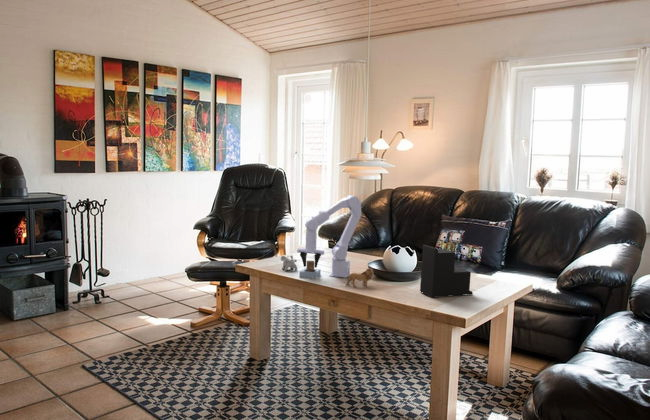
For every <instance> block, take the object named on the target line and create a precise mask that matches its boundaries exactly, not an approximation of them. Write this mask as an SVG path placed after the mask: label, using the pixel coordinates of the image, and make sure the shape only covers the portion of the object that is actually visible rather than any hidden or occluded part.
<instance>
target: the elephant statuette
mask: <svg viewBox="0 0 650 420" xmlns="http://www.w3.org/2000/svg"><path fill="white" fill-rule="evenodd" d="M280 261H282V262H283V264H282V266H281V270H283V271H284V272H287V271H288V269H291V270H293V269H294V270H295V271H297V270H298V266H297V264H296V263H297V262H298V261H297V259H296V258H294V257H293V255H292V254H291V255H286V256H285V255H282V256H281V257H280Z"/></svg>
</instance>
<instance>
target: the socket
mask: <svg viewBox="0 0 650 420" xmlns="http://www.w3.org/2000/svg"><path fill="white" fill-rule="evenodd" d="M320 276H321V269H320V268H317V269H316V268H314V272H309V271H307V267H304V268H302V269H301V270H300V271H299V278H307V279H317V278H318V277H320Z"/></svg>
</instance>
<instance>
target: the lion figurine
mask: <svg viewBox="0 0 650 420" xmlns="http://www.w3.org/2000/svg"><path fill="white" fill-rule="evenodd" d="M374 272H375V271H374V269H373V268H370V267H369V268H366V270H365V271H363V272H361V273H356V272H352V273H350V275H349V276H348V277H347V280H346V281H347V282H346V284H345V285H344V286H351V285H352V286H353V288H357V285H355V283H356V280H357V282H362V286H363V285H365V286H366V288H368V287H367V286H368V281H371V280H372V278H373V277H374ZM350 283H351V284H350ZM365 286H364V287H365Z"/></svg>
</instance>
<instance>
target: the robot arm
mask: <svg viewBox="0 0 650 420" xmlns="http://www.w3.org/2000/svg"><path fill="white" fill-rule="evenodd" d="M359 198H360V197H358V196H355V195H352V194H349V195H346V196H345V197H343V198H341V199H340V200H338V201H337V202H336V203H335V204H333V205H332V206H330V207H329V208H328V209H326V210H319V211H318V213H317V214H315V215H314V216H311V218H309V219H307V220H306V222H305V224H304V225H305V228H306V229H305V248H297V251H296V252H297V253H298V254H299V255H300V256H299V257H301V260H302V264H303V267H304V268H306V267H307V256H308V254H311V255H313V254H314V255H313V257H314V269H316V268H317V267H318V263H319V261H320V258H321V256H323V255H325V250H321V249H317V235H318V234H317V231H318V228H319V227H320V226H321V225H323V224H324V223H326V222H328V220H330V217H331V216H332V215H333V214H335V213H336V212H338V211H339V210H341V209H346V208H348V209H349V212H350V217H349V219H348V221H347V223H346V226H345V227H344V230H343V232H342V233H341V236H340V238H339V240H338V242H336V245H334V247H332V250H331V253H332V256H333V257H332V262H331V263H332V265H331V266H332V267H331V274H330V275H329V277H336V278H347V279H348V277H349V275H350V274H351V273H350V271H351V261H350V260H349V259H347V255H348V249H349V245H350V242H351V239H352V237H353V235H354V232H355V231H356V229H357V226H358V224H359V222H360V219H361V217H362V202H361V201H360V199H359Z"/></svg>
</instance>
